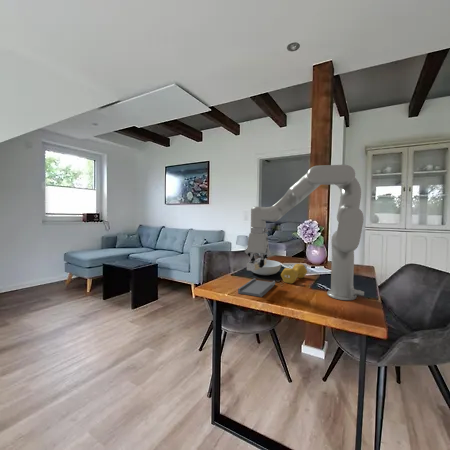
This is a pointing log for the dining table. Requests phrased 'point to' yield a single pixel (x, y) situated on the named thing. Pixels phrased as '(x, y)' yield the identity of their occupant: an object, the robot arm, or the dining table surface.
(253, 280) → the rest tray
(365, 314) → the dining table surface
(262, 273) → the serving bowl
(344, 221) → the robot arm
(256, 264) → the grey grooved bar
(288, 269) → the dumbbell
